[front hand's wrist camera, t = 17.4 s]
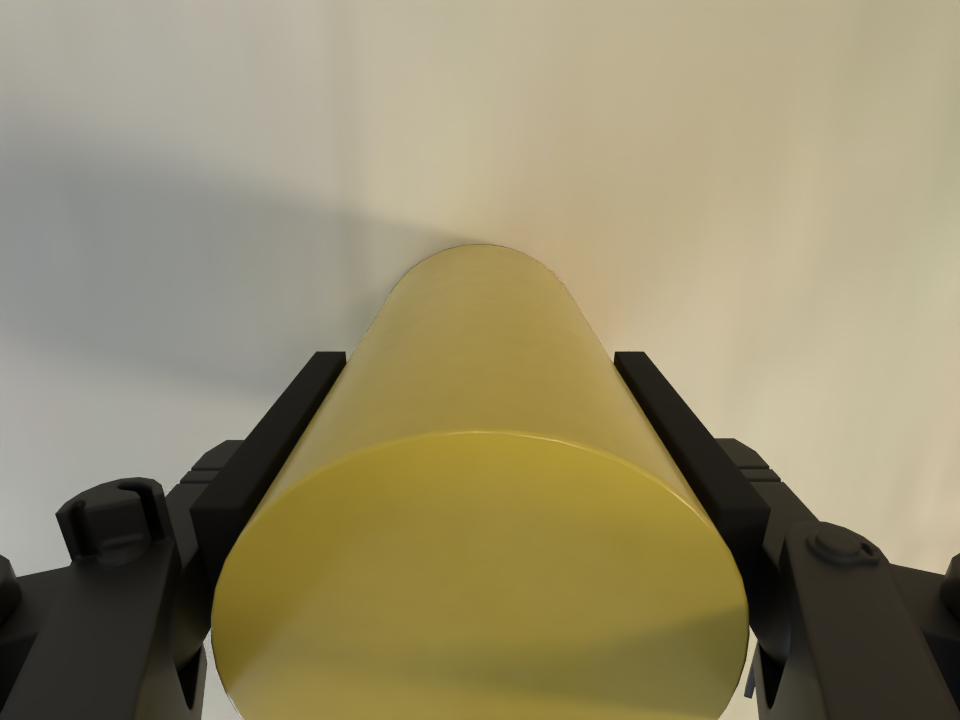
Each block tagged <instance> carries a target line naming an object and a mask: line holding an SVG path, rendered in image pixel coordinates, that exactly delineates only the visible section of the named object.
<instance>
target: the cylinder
mask: <svg viewBox="0 0 960 720" xmlns="http://www.w3.org/2000/svg"><path fill="white" fill-rule="evenodd" d="M749 635H750V631H749V609H748V601H747V597H746V593H745V588H744V584H743V580H742V576H741V574H740V572H739V569H738V567H737V565H736V563H735V560H734V558H733V556H732V553H731V551H730V549H729V548H728V546H727V545H726V543H725V541H724V540H723V538H722V537H721V535H720V533H719V532H718V530H717V529H716V527H715V525H714V524H713V522H712V521H711V519H710V517H709V516H708V514H707V513H706V511H705V509H704V508H703V506H702V505H701V503H700V501H699V500H698V498H697V497H696V495H695V493H694V492H693V490H692V489H691V487H690V485H689V484H688V482H687V481H686V479H685V477H684V476H683V474H682V473H681V471H680V469H679V468H678V466H677V465H676V463H675V461H674V460H673V458H672V457H671V455H670V453H669V452H668V450H667V449H666V447H665V445H664V444H663V442H662V441H661V439H660V437H659V436H658V434H657V433H656V431H655V429H654V428H653V426H652V425H651V423H650V421H649V420H648V418H647V417H646V415H645V413H644V412H643V410H642V409H641V407H640V405H639V404H638V402H637V401H636V399H635V397H634V396H633V394H632V393H631V391H630V389H629V388H628V386H627V385H626V383H625V381H624V380H623V378H622V377H621V375H620V373H619V372H618V370H617V369H616V367H615V365H614V364H613V362H612V361H611V359H610V357H609V356H608V354H607V353H606V351H605V349H604V348H603V346H602V345H601V343H600V341H599V340H598V338H597V337H596V335H595V333H594V332H593V330H592V329H591V327H590V325H589V324H588V322H587V321H586V319H585V317H584V316H583V314H582V313H581V311H580V309H579V308H578V306H577V305H576V303H575V301H574V300H573V298H572V297H571V295H570V294H569V292H568V290H567V289H566V287H565V286H564V285H563V283H562V282H561V281H560V280H559V279H558V278H557V276H556V275H555V274H554V273H552V272H551V271H550V270H549V269H548V268H547V267H545V266H544V265H543V264H541V263H540V262H538V261H537V260H535V259H534V258H532V257H530V256H527V255H525V254H523V253H521V252H519V251H516V250H512V249H509V248H506V247H500V246H495V245H481V244H476V245H465V246H459V247H455V248H450V249H447V250H444V251H442V252H439V253H436V254H434V255H432V256H430V257H429V258H427V259H425V260H423V261H422V262H420V263H419V264H417V265H416V266H415V267H413V268H412V269H411V270H410V271H409V272H408V273H407V274H406V275H404V276H403V277H402V278H401V280H400V281H399V282H398V283H397V285H396V286H395V287H394V288H393V290H392V292H391V293H390V295H389V296H388V298H387V300H386V301H385V303H384V304H383V306H382V308H381V309H380V311H379V313H378V314H377V316H376V317H375V319H374V321H373V322H372V324H371V325H370V327H369V329H368V330H367V332H366V333H365V335H364V337H363V338H362V340H361V341H360V343H359V345H358V346H357V348H356V349H355V351H354V353H353V354H352V356H351V357H350V359H349V361H348V362H347V364H346V365H345V367H344V369H343V370H342V372H341V373H340V375H339V377H338V378H337V380H336V381H335V383H334V385H333V386H332V388H331V390H330V391H329V393H328V394H327V396H326V398H325V399H324V401H323V402H322V404H321V406H320V407H319V409H318V410H317V412H316V414H315V415H314V417H313V418H312V420H311V422H310V423H309V425H308V426H307V428H306V430H305V431H304V433H303V434H302V436H301V438H300V439H299V441H298V442H297V444H296V446H295V447H294V449H293V450H292V452H291V454H290V455H289V457H288V458H287V460H286V462H285V463H284V465H283V467H282V468H281V470H280V471H279V473H278V475H277V476H276V478H275V479H274V481H273V483H272V484H271V486H270V487H269V489H268V491H267V492H266V494H265V495H264V497H263V499H262V500H261V502H260V503H259V505H258V507H257V508H256V510H255V511H254V513H253V515H252V516H251V518H250V519H249V521H248V523H247V524H246V526H245V527H244V529H243V531H242V532H241V534H240V536H239V537H238V539H237V541H236V542H235V544H234V546H233V548H232V549H231V551H230V553H229V554H228V556H227V558H226V560H225V562H224V565H223V568H222V570H221V573H220V576H219V579H218V581H217V584H216V587H215V593H214V599H213V605H212V611H211V644H212V649H213V654H214V659H215V664H216V669H217V671H218V674H219V677H220V679H221V682H222V685H223V687H224V690H225V692H226V694H227V696H228V698H229V699H230V701H231V703H232V705H233V706H234V708H235V710H236V712H237V713H238V715H239V716H240V718H241V719H242V720H718V719H719V717H720V716H721V715H722V713H723V712H724V710H725V709H726V708H727V706H728V704H729V702H730V700H731V698H732V696H733V694H734V692H735V690H736V688H737V686H738V684H739V681H740V677H741V674H742V671H743V668H744V665H745V662H746V657H747V650H748V642H749Z"/></svg>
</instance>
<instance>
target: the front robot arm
mask: <svg viewBox="0 0 960 720" xmlns="http://www.w3.org/2000/svg"><path fill="white" fill-rule="evenodd" d="M346 364H347V363H346V353H345V352H316V353H315V354H314V355H313V357H312V358H311V359H310V360H309V361H308V363H307V364H306V365H305V366H304V368H303V369H302V370H301V371H300V373H299V374H298V375H297V376H296V378H295V379H294V380H293V381H292V382H291V384H290V385H289V386H288V387H287V389H286V390H285V391H284V392H283V394H282V395H281V396H280V397H279V398H278V400H277V401H276V402H275V403H274V405H273V406H272V407H271V408H270V410H269V411H268V412H267V413H266V415H265V416H264V417H263V418H262V419H261V421H260V422H259V423H258V424H257V426H256V427H255V428H254V429H253V431H252V432H251V433H250V434H249V435H248V437H247V438H246V439H245V440H226V441H224V442H223V443H221V444H219V445H218V446H216V447H214V448H213V449H211V450H209V451H208V452H206V453H205V454H204V455H203V456H202V457H201V458H200V459H199V460H198V461H197V463H196V464H195V465H194V466H193V467H192V468H191V469H192V470H191V471H188V472H187V474H186V475H185V476H184V477H183V478H182V479H181V480H180V484H177V485H176V486H175V487H174V488H173V489H172V490H171V491H170V492H169V493H168V495H167V496H166V497H165V496H164V492H163V488H162V485H161V484H159V483H158V482H157V481H155V480H154V479H148V478H141V477H136V478H125V479H119V480H115V481H111V482H107V483H103V484H100V485H98V486H95V487H93V488H91V489H88V490H86V491H84V492H81V493H80V494H78V495H77V496H75V497H74V498H72V499H70V500H69V501H67V502H66V503H65V504H64V505H63V506H62V507H61V508H60V509H59V510H58V512H57V513H56V514H55V515H56V518H57V520H58V523H59V526H60V529H61V532H62V534H63V537H64V540H65V543H66V546H67V548H68V551H69V554H70V557H71V560H72V562H71V564H70V566H67V567H63V568H59V569H54V570H49V571H44V572H40V573H35V574H30V575H25V576H21V577H16V575H15V573H14V571H13V568H12V566H11V563H10V561H9V560H8V559H7V558H5V557H3V556H2V555H0V720H201V715H202V706H203V697H204V688H205V679H206V670H207V658H206V652H205V648H204V645H203V641H204V639H205V637H206V635H207V634H208V632H209V630H210V628H211V611H212V605H213V599H214V593H215V587H216V584H217V581H218V579H219V576H220V573H221V570H222V568H223V565H224V562H225V560H226V558H227V556H228V554H229V553H230V551H231V549H232V548H233V546H234V544H235V542H236V541H237V539H238V537H239V536H240V534H241V532H242V531H243V529H244V527H245V526H246V524H247V523H248V521H249V519H250V518H251V516H252V515H253V513H254V511H255V510H256V508H257V507H258V505H259V503H260V502H261V500H262V499H263V497H264V495H265V494H266V492H267V491H268V489H269V487H270V486H271V484H272V483H273V481H274V479H275V478H276V476H277V475H278V473H279V471H280V470H281V468H282V467H283V465H284V463H285V462H286V460H287V458H288V457H289V455H290V454H291V452H292V450H293V449H294V447H295V446H296V444H297V442H298V441H299V439H300V438H301V436H302V434H303V433H304V431H305V430H306V428H307V426H308V425H309V423H310V422H311V420H312V418H313V417H314V415H315V414H316V412H317V410H318V409H319V407H320V406H321V404H322V402H323V401H324V399H325V398H326V396H327V394H328V393H329V391H330V390H331V388H332V386H333V385H334V383H335V381H336V380H337V378H338V377H339V375H340V373H341V372H342V370H343V369H344V367H345V365H346ZM614 365H615V367H616V369H617V370H618V372H619V373H620V375H621V377H622V378H623V380H624V381H625V383H626V385H627V386H628V388H629V389H630V391H631V393H632V394H633V396H634V397H635V399H636V401H637V402H638V404H639V405H640V407H641V409H642V410H643V412H644V413H645V415H646V417H647V418H648V420H649V421H650V423H651V425H652V426H653V428H654V429H655V431H656V433H657V434H658V436H659V437H660V439H661V441H662V442H663V444H664V445H665V447H666V449H667V450H668V452H669V453H670V455H671V457H672V458H673V460H674V461H675V463H676V465H677V466H678V468H679V469H680V471H681V473H682V474H683V476H684V477H685V479H686V481H687V482H688V484H689V485H690V487H691V489H692V490H693V492H694V493H695V495H696V497H697V498H698V500H699V501H700V503H701V505H702V506H703V508H704V509H705V511H706V513H707V514H708V516H709V517H710V519H711V521H712V522H713V524H714V525H715V527H716V529H717V530H718V532H719V533H720V535H721V537H722V538H723V540H724V541H725V543H726V545H727V546H728V548H729V549H730V551H731V553H732V556H733V558H734V560H735V563H736V565H737V567H738V569H739V572H740V574H741V576H742V580H743V584H744V588H745V593H746V597H747V601H748V609H749V625H750V627H751V629H752V630H753V632H754V634H755V636H756V637H757V639H758V641H757V645H756V648H755V652H754V656H753V660H752V664H751V667H750V671H749V675H748V679H747V683H746V687H745V693H744V696H745V697H748V698H751V699H752V695H753V692H754V688H755V687H756V696H757V704H758V713H759V720H960V553H959V554H958V555H956V556H954V557H953V558H952V560H951V562H950V565H949V567H948V569H947V572H946V574H945V575H941V574H937V573H932V572H927V571H922V570H917V569H913V568H908V567H903V566H898V565H894V564H891V563H889V561H888V559H887V558H886V557H885V556H884V554H883V553H882V552H881V550H880V549H879V548H878V547H877V546H875V545H874V544H873V543H871V542H870V541H869V540H867V539H866V538H865V537H863V536H861V535H859V534H857V533H855V532H853V531H851V530H849V529H847V528H845V527H841V526H838V525H834V524H831V523H828V522H821V521H819V520H818V519H817V518H816V517H815V516H814V515H813V514H812V512H811V511H810V510H809V509H808V508H807V507H806V506H805V505H804V504H803V503H802V502H801V500H800V499H799V498H798V497H797V496H796V495H795V494H794V493H793V492H792V491H791V490H790V488H789V487H788V486H787V485H786V484H785V483H784V482H781V479H780V477H779V476H778V475H777V474H776V473H775V472H774V471H773V470H772V469H769V465H768V464H767V463H766V462H765V461H764V460H763V459H762V458H761V457H760V456H759V454H758V453H757V452H756V451H754V450H753V449H751V448H749V447H748V446H746V445H744V444H743V443H741V442H739V441H738V440H736V439H734V438H713V436H712V435H711V434H710V433H709V431H708V430H707V429H706V428H705V426H704V425H703V424H702V423H701V422H700V420H699V419H698V418H697V417H696V415H695V414H694V413H693V412H692V410H691V409H690V408H689V407H688V405H687V404H686V403H685V402H684V401H683V399H682V398H681V397H680V396H679V394H678V393H677V392H676V391H675V389H674V388H673V387H672V386H671V385H670V383H669V382H668V381H667V380H666V378H665V377H664V376H663V375H662V373H661V372H660V371H659V370H658V369H657V367H656V366H655V365H654V364H653V362H652V361H651V360H650V359H649V357H648V356H647V355H646V354H645V352H615V356H614Z"/></svg>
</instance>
